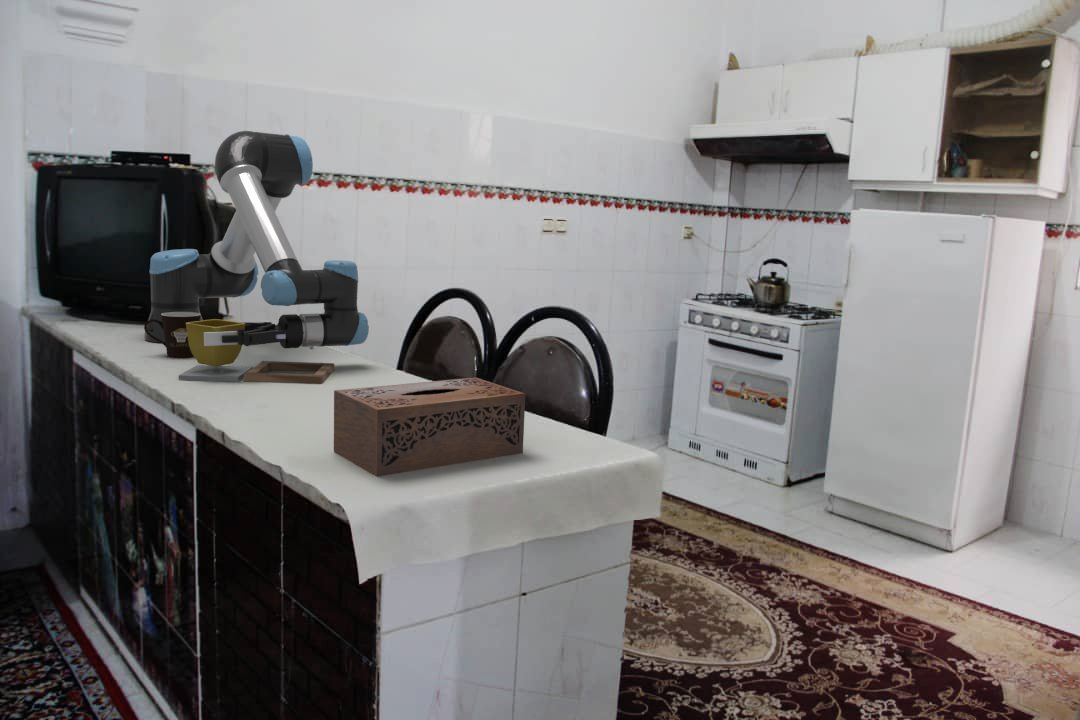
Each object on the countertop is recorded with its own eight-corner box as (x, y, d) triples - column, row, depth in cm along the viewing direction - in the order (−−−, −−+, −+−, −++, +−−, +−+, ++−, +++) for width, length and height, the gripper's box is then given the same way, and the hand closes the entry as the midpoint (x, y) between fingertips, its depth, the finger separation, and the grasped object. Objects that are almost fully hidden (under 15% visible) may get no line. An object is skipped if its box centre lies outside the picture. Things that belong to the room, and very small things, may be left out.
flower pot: (247, 363, 192) (246, 322, 190) (216, 369, 184) (215, 326, 182) (216, 359, 195) (215, 318, 194) (185, 364, 188) (184, 322, 186)
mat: (197, 369, 196) (197, 364, 195) (252, 371, 196) (252, 366, 196) (178, 380, 184) (178, 375, 184) (237, 381, 185) (237, 377, 184)
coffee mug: (207, 354, 214) (207, 313, 213) (190, 360, 206) (189, 317, 204) (161, 351, 215) (160, 310, 214) (142, 357, 207) (141, 314, 205)
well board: (262, 367, 201) (262, 360, 201) (334, 369, 202) (334, 363, 202) (243, 381, 186) (243, 374, 185) (321, 383, 187) (321, 376, 186)
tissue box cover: (473, 434, 153) (475, 377, 151) (522, 454, 142) (525, 393, 140) (333, 453, 137) (334, 390, 136) (376, 478, 126) (377, 409, 124)
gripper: (317, 356, 189) (211, 362, 177) (282, 339, 209) (185, 343, 197) (317, 321, 188) (211, 324, 176) (282, 307, 208) (184, 310, 196)
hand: (197, 334), depth 187 cm, fingers closed on flower pot, 11 cm apart
